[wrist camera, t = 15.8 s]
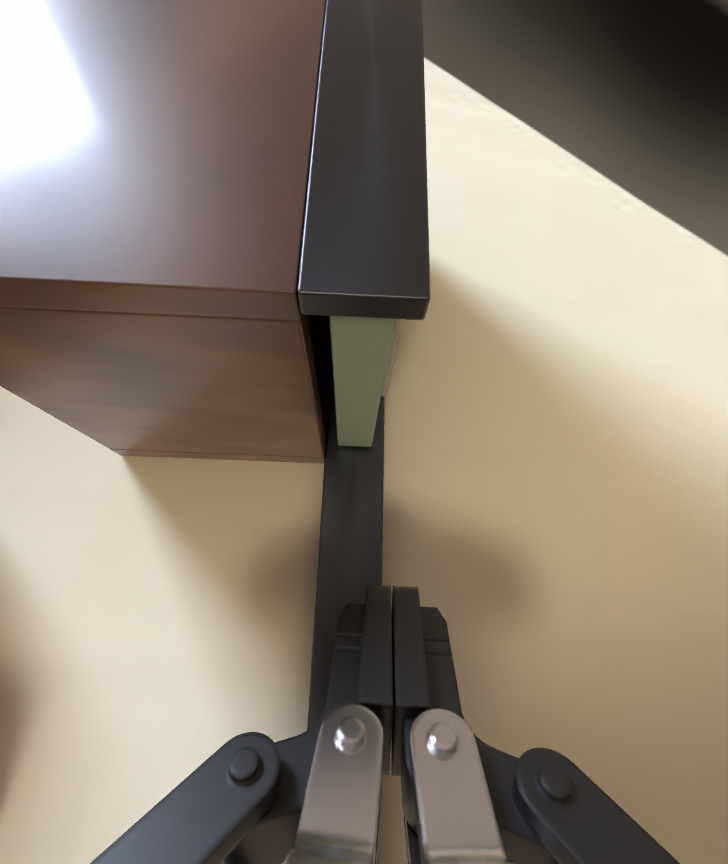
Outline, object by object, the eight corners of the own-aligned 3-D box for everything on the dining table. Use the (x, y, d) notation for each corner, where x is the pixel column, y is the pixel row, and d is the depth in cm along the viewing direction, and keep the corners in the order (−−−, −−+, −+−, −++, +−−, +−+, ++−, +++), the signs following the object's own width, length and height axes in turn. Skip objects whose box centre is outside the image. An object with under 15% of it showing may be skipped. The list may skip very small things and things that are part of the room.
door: (384, 206, 25) (409, -45, 15) (380, 447, 20) (413, 310, 10) (350, 204, 25) (353, -49, 15) (337, 445, 20) (328, 306, 10)
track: (385, 217, 26) (419, -98, 14) (375, 887, 16) (481, 2004, 3) (341, 215, 26) (336, -104, 14) (298, 886, 15) (117, 2027, 3)
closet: (341, 215, 26) (336, -104, 14) (325, 463, 21) (295, 293, 9) (178, 206, 26) (30, -126, 14) (120, 455, 21) (-209, 268, 8)
